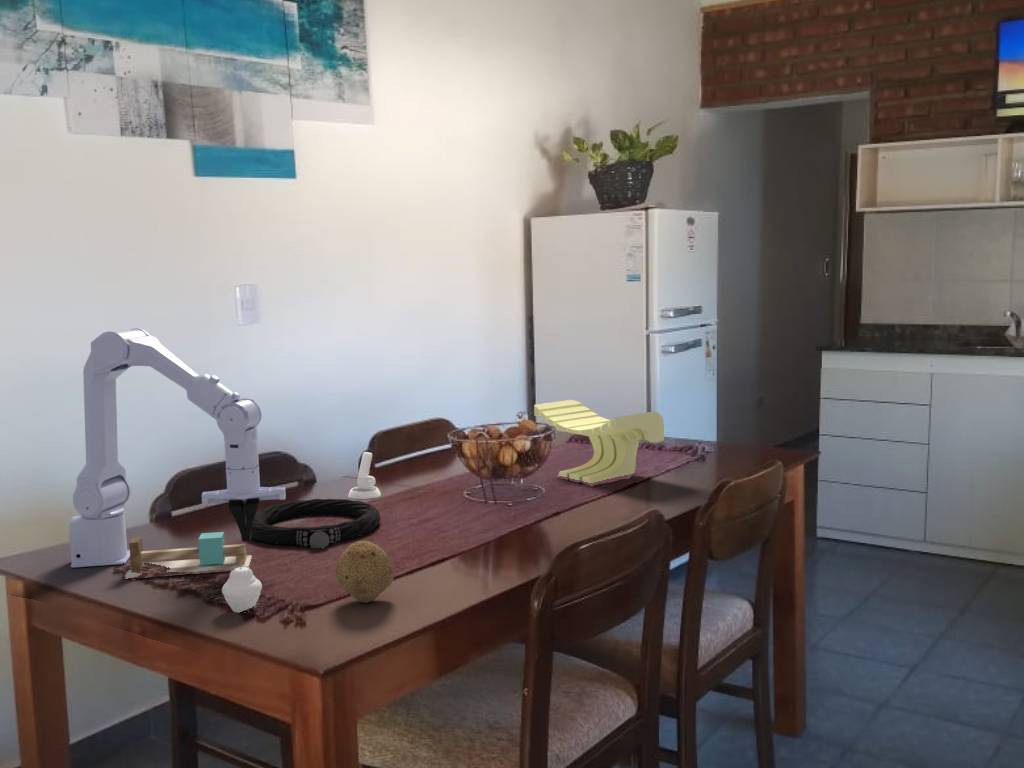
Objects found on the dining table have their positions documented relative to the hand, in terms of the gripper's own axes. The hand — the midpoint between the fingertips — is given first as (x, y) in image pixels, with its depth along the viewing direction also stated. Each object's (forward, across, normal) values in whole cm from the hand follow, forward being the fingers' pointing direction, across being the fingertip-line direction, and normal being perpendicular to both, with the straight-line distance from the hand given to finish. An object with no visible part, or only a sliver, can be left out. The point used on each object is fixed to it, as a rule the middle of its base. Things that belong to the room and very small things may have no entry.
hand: (246, 540), depth 177 cm
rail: (+5, -10, 0) cm, 11 cm away
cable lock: (+5, +11, +22) cm, 25 cm away
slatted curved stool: (+5, +80, +53) cm, 96 cm away
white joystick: (+5, +22, +50) cm, 55 cm away
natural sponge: (+5, +20, -25) cm, 33 cm away
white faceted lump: (+5, +1, -24) cm, 25 cm away
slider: (+4, -6, 0) cm, 7 cm away
